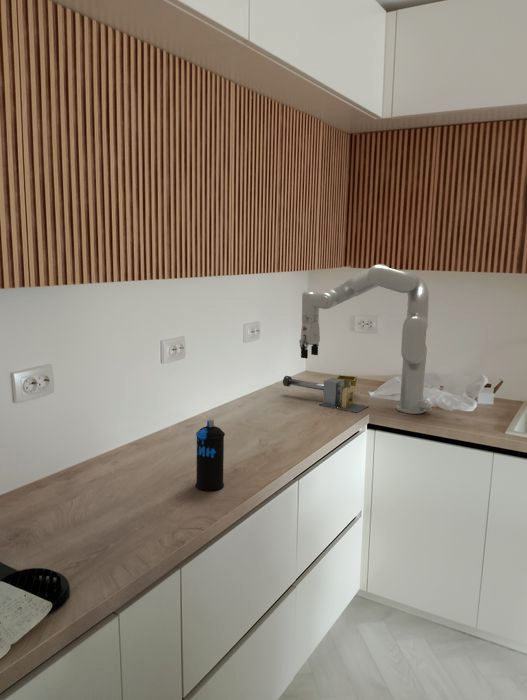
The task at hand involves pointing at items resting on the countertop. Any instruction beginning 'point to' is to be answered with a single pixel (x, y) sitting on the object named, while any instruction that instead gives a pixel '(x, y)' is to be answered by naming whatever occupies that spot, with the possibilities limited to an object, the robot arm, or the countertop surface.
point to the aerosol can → (210, 457)
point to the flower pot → (348, 380)
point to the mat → (355, 408)
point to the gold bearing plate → (348, 396)
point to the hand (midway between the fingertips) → (309, 356)
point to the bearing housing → (331, 393)
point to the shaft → (304, 384)
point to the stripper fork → (341, 392)
